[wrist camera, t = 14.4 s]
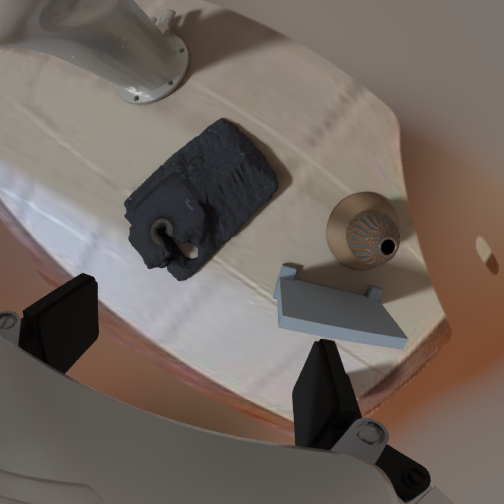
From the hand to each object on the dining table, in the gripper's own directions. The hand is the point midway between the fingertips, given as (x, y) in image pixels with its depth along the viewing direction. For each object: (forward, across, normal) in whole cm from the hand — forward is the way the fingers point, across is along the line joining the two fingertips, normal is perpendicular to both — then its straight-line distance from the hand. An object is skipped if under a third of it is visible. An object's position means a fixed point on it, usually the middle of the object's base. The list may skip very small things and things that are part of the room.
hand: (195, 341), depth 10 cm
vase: (+28, -16, -3) cm, 32 cm away
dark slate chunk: (+29, +8, -1) cm, 30 cm away
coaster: (+28, -16, -3) cm, 33 cm away
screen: (+28, -14, +7) cm, 32 cm away
